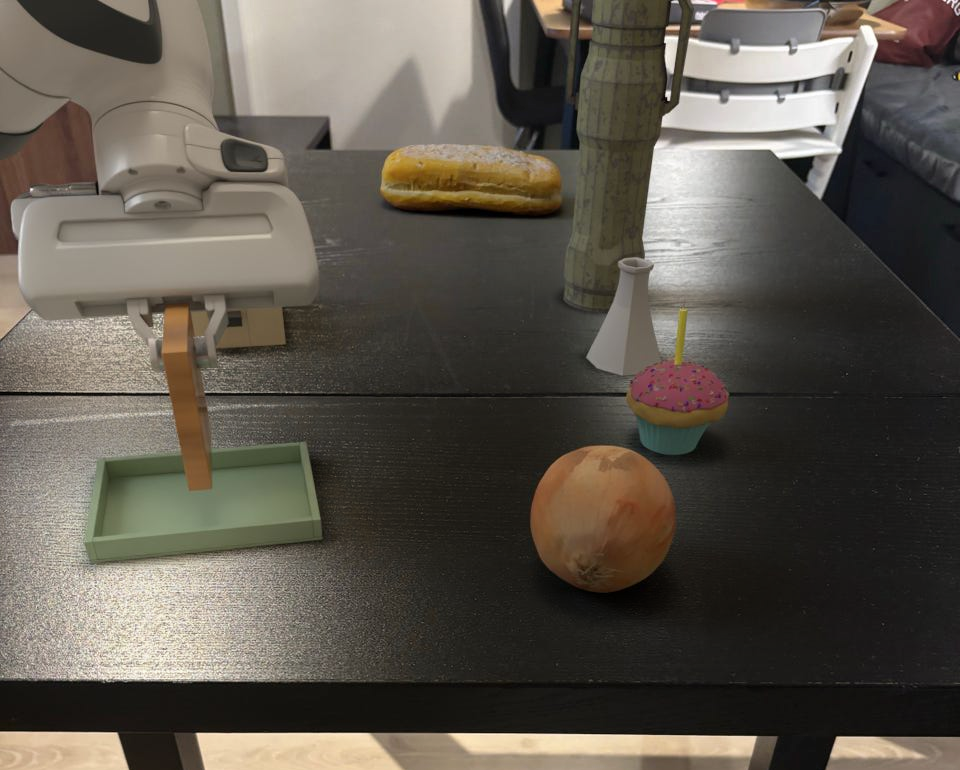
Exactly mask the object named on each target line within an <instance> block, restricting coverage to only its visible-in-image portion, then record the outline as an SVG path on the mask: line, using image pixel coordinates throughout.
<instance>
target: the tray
mask: <svg viewBox="0 0 960 770" xmlns="http://www.w3.org/2000/svg"><path fill="white" fill-rule="evenodd" d="M323 539H324V538H323V528H322V518H321V513H320V508H319V503H318V497H317V493H316V486H315V481H314V477H313V471H312V464H311V459H310V454H309V449H308V444H307V441H296V442H282V443H281V442H280V443H271V444H269V443H268V444H260V445H258V444H257V445H249V446H248V445H245V446H235V447H234V446H233V447H222V448H212V489H207V490H196V491H189V489H188V484H187V479H186V474H185V469H184V464H183V459H182V454H181V451H172V452H162V453H149V454H137V455H136V454H135V455H126V456H125V455H123V456H112V457H101V458H98V459H97V464H96V470H95V476H94V481H93V486H92V493H91V498H90V505H89V510H88V516H87V522H86V528H85V535H84V540H83V546H84V549H85V552H86V555H87V560H88V563H89V564H96V563H106V562H114V561H115V562H116V561H117V562H118V561H126V560H135V559H145V558H154V557H164V556H174V555H184V554H194V553H195V554H196V553H203V552H205V553H206V552H215V551H225V550H233V549H243V548H253V547H263V546H273V545H281V544H282V545H283V544H291V543H292V544H293V543H302V542H312V541H322V540H323Z"/></svg>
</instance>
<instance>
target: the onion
mask: <svg viewBox="0 0 960 770" xmlns="http://www.w3.org/2000/svg"><path fill="white" fill-rule="evenodd" d="M676 516H677V515H676V505H675V500H674V495H673V493H672V490H671V488H670V486H669V483H668V481H667V479H665V476H664V475H663V474H662V473H661V472H660V470H659V469H658V468H657V467H656V466H655V465H654V464H653V463H652V462H651V461H650V460H648V459H647V458H646V457H645V456H643V455H641V454H639V453H638V452H636V451H634V450H631V449H629V448H626V447H623V446H622V447H621V446H616V445H589V446H584V447H581V448H578V449H575V450H572V451H570V452H568V453H565V454H562V456H560V457H559V458H557V459H556V460H555V461H554V462H553V463H552V464H550V466H549V467H548V468H547V470H546V471H545V473H544V475H543V476H542V477H541V479H540V480H539V482H538V484H537V487H536V489H535V492H534V496H533V499H532V502H531V507H530V520H529V522H530V531H531V536H532V540H533V543H534V545H535V548H536V550H537V553H538V555H539V558H540V559H541V560H540V561H542V563H543V564H544V565H545V567H546V568H547V569H548V570H549V571H551V572H552V573H553V574H554V575H555V576H557V577H558V578H559V579H561V580H563V581H564V582H566V583H568V584H570V585H571V586H573V587H575V588H577V589H580V590H584V591H588V592H590V593H591V592H592V593H602V594H603V593H604V594H605V593H606V594H607V593H608V594H609V593H614V592H618V591H621V590H624V589H627V588H630V587H632V586H634V585H636V584H638V583H640V582H641V581H643V580H645V579H647V578H648V577H650V575H652V574H653V573H654V572H655V571H656V570H657V569H658V567H660V566H661V565H662V563H663V561H665V559H666V556H667V555H668V553H669V551H670V547H671V544H672V541H673V539H674V535H675V532H676V526H677V519H676V518H677V517H676Z"/></svg>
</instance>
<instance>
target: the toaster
mask: <svg viewBox="0 0 960 770" xmlns="http://www.w3.org/2000/svg"><path fill="white" fill-rule="evenodd" d="M227 314H228V322H229V323H228V325H227V327H226V329H225V331H224V333H223V335H222V337H221V339H220V341H219V343H218V345H217V346H216V350H229V349H231V350H232V349H244V348H245V349H246V348H261V347H276V346H286V345H287V342H286V341H287V340H286V333H285V324H284V323H285V322H284V314H283V307H274V308H256V309H239V310H227ZM191 317H192V323H193V329H194V334H195V337H196V336H204V333H205V331H206V329H207V327H208V324H209V321H208V317H207V313H206V311H204V312H191Z"/></svg>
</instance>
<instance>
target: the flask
mask: <svg viewBox="0 0 960 770" xmlns="http://www.w3.org/2000/svg"><path fill="white" fill-rule="evenodd" d="M618 267H619V268H620V279H619V285H618V288H617V291H616V295H615V298H614V301H613V303H612V306H611V308H610V310H609V312H608V313H606V317H605V319H604V320H603V322H602V325H601V327H600V329H599V331H598V332H597V334H596V337H595V339H594V341H593V343H592V344H591V346H590V349H589V350H588V352H587V355H586V356H585V358H586V359H587V360H588V361H589V362H590V363H591V364H592V365H593V366H594V367H595V368H596V369H597V370H602V371H605V372H607V373H611V374H615V375H618V376H622V377H624V376H632V375H633V376H634V375H637V374H638V373H639V372H640V371H642V370H643V369H645V367H647V366H652V365H653V364H654V363H655V364H656V363H658V364H659V363H661V361H662V358H661V354H660V350H659V344H658V341H657V338H656V337H657V336H656V333H655V328H654V322H653V318H652V313H651V308H650V302H649V301H650V300H649V297H650V296H649V280H650V273H651V271H653V270H654V268H655V264H654V263H653V262H652V261H650V260H649V259H641V258H637V257H635V258H624V259H622V260H620V261H618Z"/></svg>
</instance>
